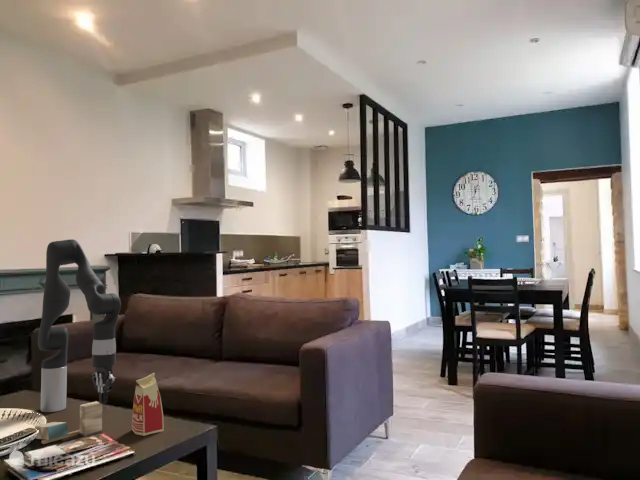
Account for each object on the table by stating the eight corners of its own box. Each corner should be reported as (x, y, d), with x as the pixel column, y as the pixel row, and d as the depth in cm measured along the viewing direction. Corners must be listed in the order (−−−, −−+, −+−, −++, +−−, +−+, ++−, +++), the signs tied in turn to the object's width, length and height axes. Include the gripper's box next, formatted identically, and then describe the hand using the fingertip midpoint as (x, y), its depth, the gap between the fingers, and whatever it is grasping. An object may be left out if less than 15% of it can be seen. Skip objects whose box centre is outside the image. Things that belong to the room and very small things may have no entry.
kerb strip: (41, 443, 165) (41, 440, 166) (96, 427, 181) (96, 425, 181) (43, 444, 165) (43, 441, 165) (98, 428, 180) (98, 425, 180)
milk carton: (153, 424, 184) (153, 369, 185) (165, 430, 177) (165, 373, 178) (128, 430, 177) (129, 373, 178) (140, 437, 171) (140, 378, 172)
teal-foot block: (49, 439, 164) (35, 438, 170) (67, 434, 169) (53, 433, 175) (48, 427, 165) (35, 426, 171) (67, 422, 170) (53, 421, 175)
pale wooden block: (79, 434, 174) (79, 405, 175) (95, 429, 179) (96, 401, 179) (85, 436, 172) (85, 407, 172) (101, 431, 177) (102, 403, 177)
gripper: (83, 351, 173) (82, 402, 172) (104, 355, 165) (103, 409, 164) (104, 348, 179) (103, 398, 178) (124, 352, 171) (124, 403, 170)
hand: (103, 403), depth 171 cm, fingers closed
